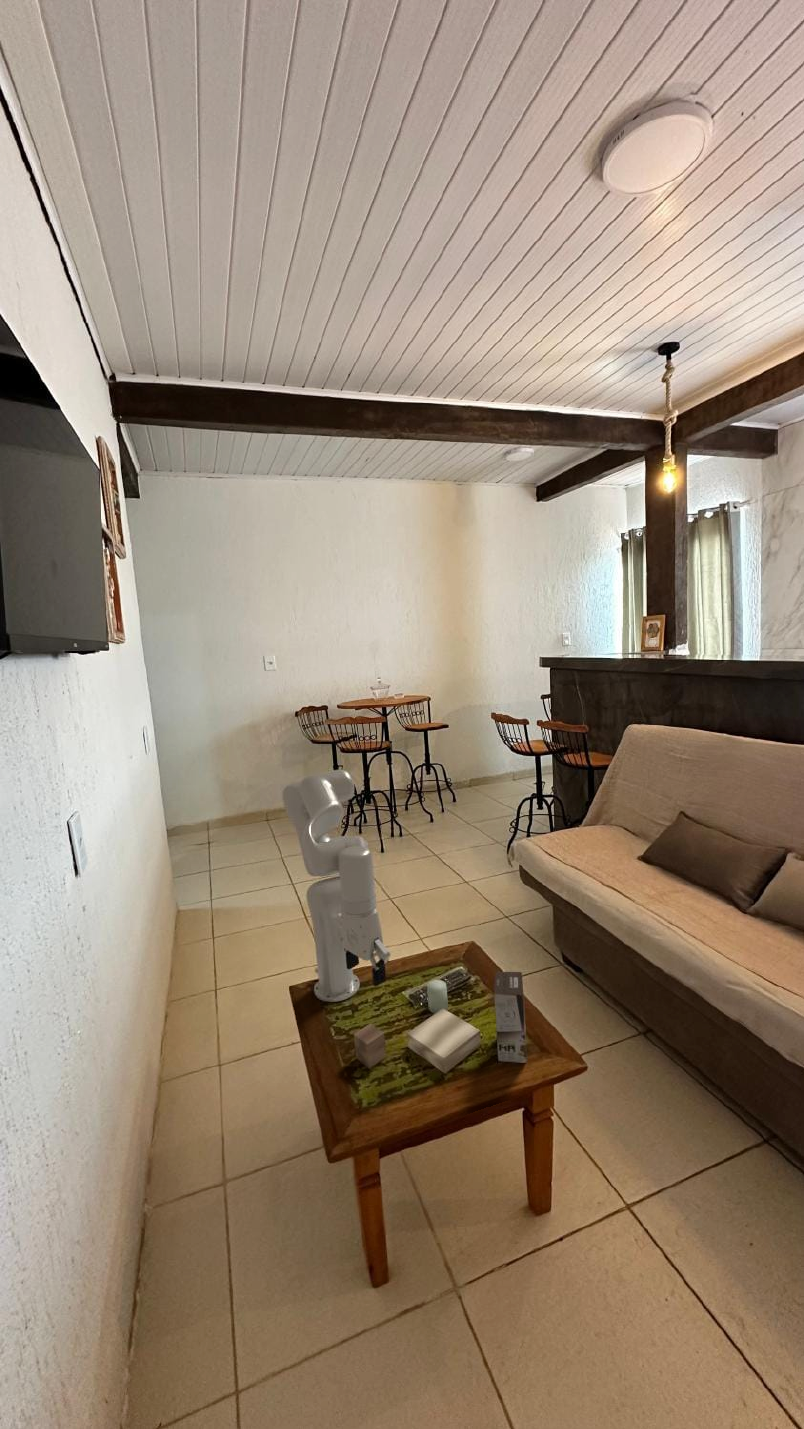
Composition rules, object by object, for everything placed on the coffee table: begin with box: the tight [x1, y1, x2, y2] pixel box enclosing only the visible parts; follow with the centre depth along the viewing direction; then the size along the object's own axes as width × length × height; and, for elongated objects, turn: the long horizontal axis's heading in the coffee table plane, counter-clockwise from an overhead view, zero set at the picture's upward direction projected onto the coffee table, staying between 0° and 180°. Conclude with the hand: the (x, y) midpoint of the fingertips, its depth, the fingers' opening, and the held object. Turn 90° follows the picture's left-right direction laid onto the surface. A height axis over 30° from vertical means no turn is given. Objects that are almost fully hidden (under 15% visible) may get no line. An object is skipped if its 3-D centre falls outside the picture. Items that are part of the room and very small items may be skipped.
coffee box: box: [493, 971, 527, 1064], centre depth 127 cm, size 9×6×16 cm
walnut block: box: [353, 1022, 387, 1070], centre depth 128 cm, size 5×5×6 cm
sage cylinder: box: [426, 979, 449, 1014], centre depth 144 cm, size 5×5×6 cm
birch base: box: [406, 1009, 482, 1074], centre depth 130 cm, size 12×12×4 cm
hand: (366, 974), depth 126 cm, fingers open, 9 cm apart
